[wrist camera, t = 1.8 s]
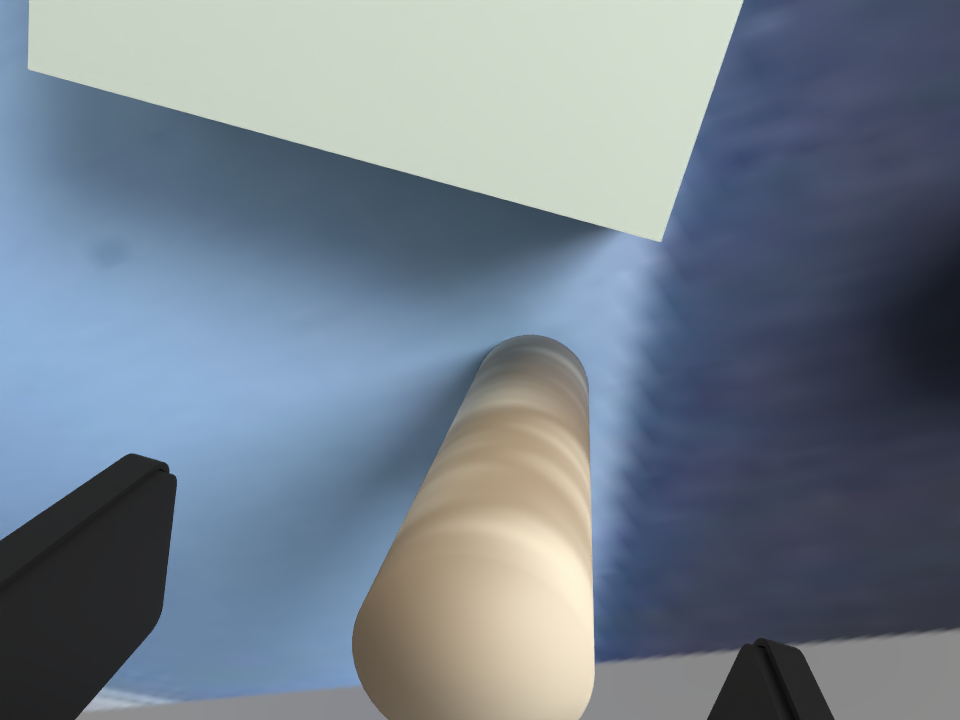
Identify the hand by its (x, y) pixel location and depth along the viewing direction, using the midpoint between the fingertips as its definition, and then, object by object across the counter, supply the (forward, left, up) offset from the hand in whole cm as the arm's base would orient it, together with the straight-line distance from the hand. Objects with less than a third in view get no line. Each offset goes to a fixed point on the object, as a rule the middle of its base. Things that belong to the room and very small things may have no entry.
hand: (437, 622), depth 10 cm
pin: (-1, 0, -11) cm, 11 cm away
